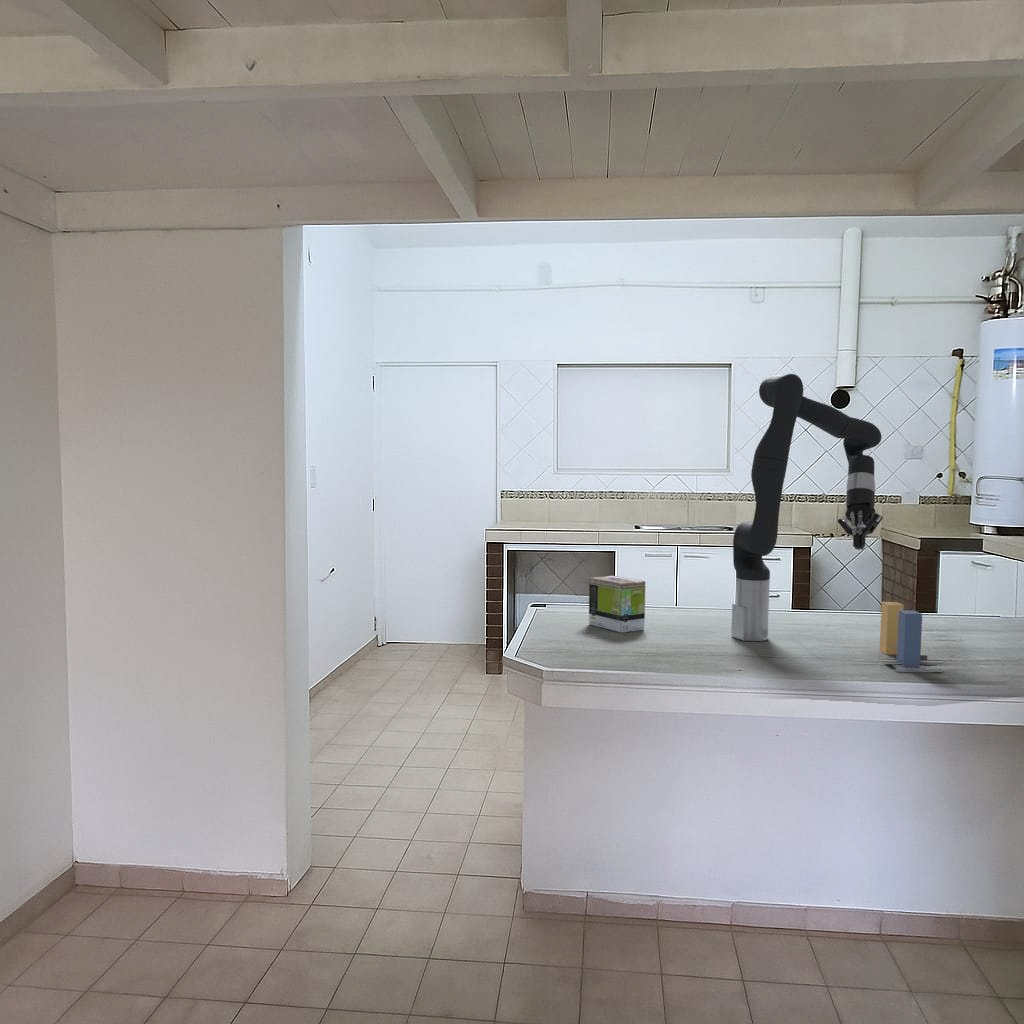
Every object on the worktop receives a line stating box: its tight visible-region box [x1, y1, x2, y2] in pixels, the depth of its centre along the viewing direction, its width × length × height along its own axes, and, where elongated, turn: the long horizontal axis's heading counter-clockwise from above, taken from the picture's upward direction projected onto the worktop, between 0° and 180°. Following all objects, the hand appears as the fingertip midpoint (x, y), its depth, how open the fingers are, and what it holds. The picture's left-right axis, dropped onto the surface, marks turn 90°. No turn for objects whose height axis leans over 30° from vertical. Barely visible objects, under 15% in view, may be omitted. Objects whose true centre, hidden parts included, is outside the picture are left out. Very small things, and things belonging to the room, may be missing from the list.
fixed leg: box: [896, 610, 928, 666], centre depth 207 cm, size 4×6×13 cm, turn 88°
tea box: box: [588, 575, 646, 633], centre depth 252 cm, size 15×10×15 cm
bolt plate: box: [884, 663, 943, 673], centre depth 217 cm, size 26×11×1 cm, turn 178°
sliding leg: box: [879, 601, 905, 656], centre depth 218 cm, size 4×6×13 cm, turn 88°
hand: (859, 548), depth 236 cm, fingers closed
